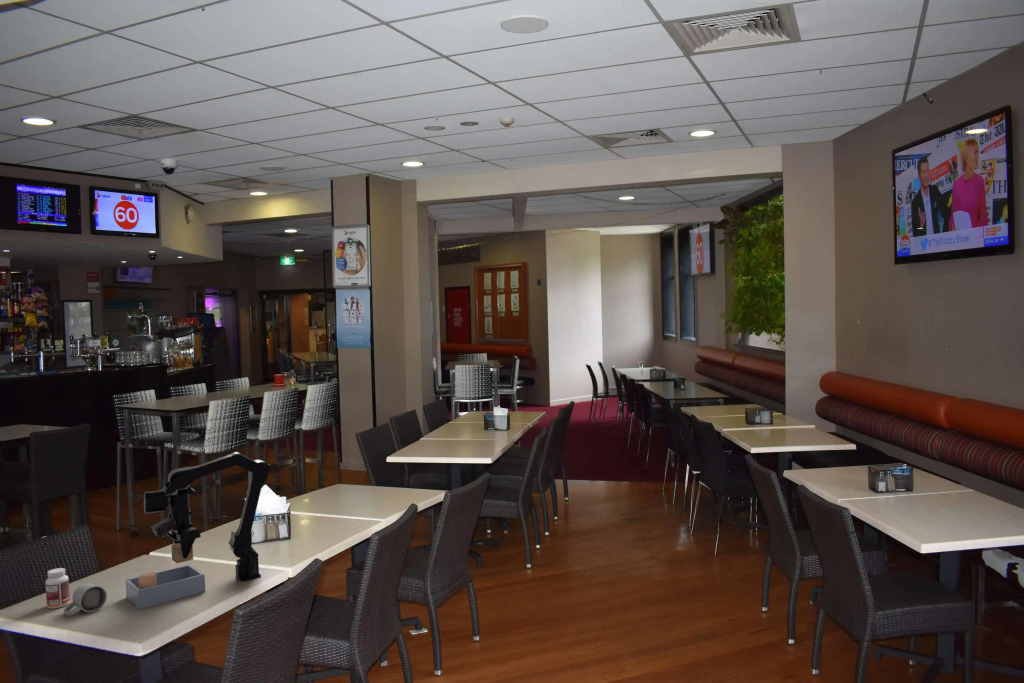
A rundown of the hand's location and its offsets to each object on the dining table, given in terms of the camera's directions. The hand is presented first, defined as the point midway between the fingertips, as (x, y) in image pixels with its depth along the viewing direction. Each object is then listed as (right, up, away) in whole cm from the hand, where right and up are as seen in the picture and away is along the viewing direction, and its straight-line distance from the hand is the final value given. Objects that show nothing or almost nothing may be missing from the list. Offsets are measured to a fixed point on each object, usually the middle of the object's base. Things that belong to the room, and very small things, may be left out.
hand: (182, 556), depth 237 cm
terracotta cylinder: (-8, -11, -6) cm, 15 cm away
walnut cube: (0, -1, 0) cm, 1 cm away
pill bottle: (-35, -13, -9) cm, 38 cm away
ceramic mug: (-23, -13, -14) cm, 30 cm away
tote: (-4, -11, -3) cm, 12 cm away
